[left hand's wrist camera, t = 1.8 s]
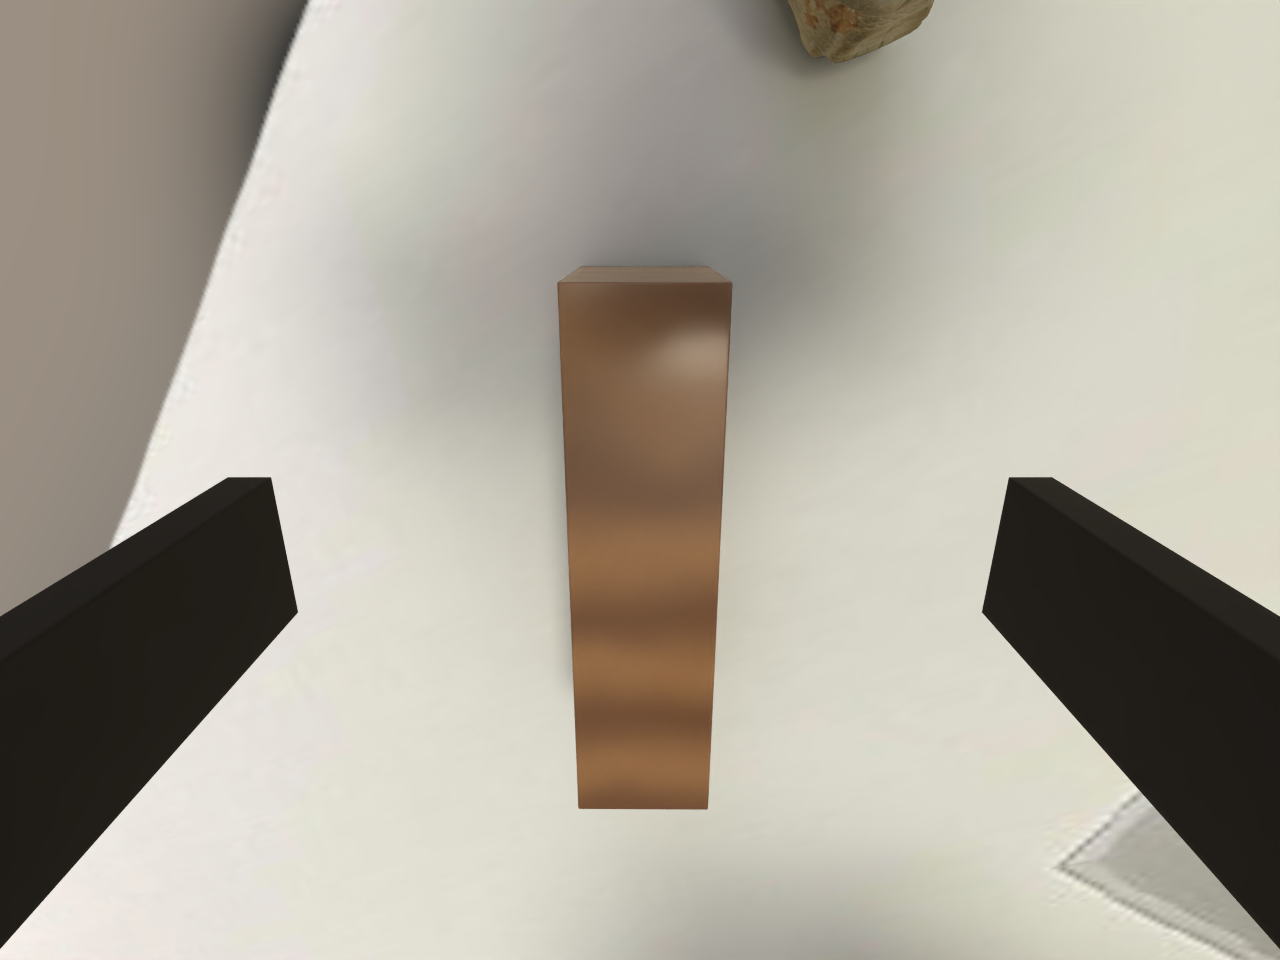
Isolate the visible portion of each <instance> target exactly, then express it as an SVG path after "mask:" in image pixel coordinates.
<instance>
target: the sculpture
mask: <svg viewBox="0 0 1280 960" xmlns="http://www.w3.org/2000/svg"><path fill="white" fill-rule="evenodd" d="M933 2H934V0H788V3H789V5H790V7H791V9H792V11H793V13H794V16H795V19H796V22H797V25H798V28H799V31H800V39H801V41H802V44H803V46H804V48H805V49H806V51H807V53H808V54H809V55H810V56H812V57H820V56H824V55H825V56H826V57H827V58H828V59H829V60H830V61H832V62H834V63H839V62H844V61H847V60H850V59H852V58H855V57H858V56H861V55H864V54H866V53H869V52H871V51H874V50H876V49H878V48H880V47H882V46H885V45H887V44H889V43H891V42H893V41H895V40H897V39H899V38H901V37H903V36H905V35H907V34H909V33H911V32H912V31H914V30H915V29H916V28H918V27H919V25H920V24H921V22H922V20H924V19H925V18H926V17H927V16H928V14H929V12H930V9H931V7H932V5H933Z"/></svg>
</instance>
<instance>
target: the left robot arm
mask: <svg viewBox="0 0 1280 960" xmlns="http://www.w3.org/2000/svg"><path fill="white" fill-rule="evenodd" d="M297 613H298V610H297V605H296V600H295V595H294V590H293V585H292V580H291V575H290V570H289V565H288V560H287V555H286V550H285V545H284V540H283V535H282V530H281V525H280V520H279V515H278V510H277V505H276V500H275V495H274V490H273V485H272V480H271V477H228V478H226V479H225V480H223V481H221V482H220V483H218V484H216V485H215V486H213V487H211V488H210V489H208V490H207V491H205V492H203V493H202V494H200V495H198V496H197V497H195V498H193V499H192V500H190V501H189V502H187V503H185V504H184V505H182V506H180V507H179V508H177V509H175V510H174V511H172V512H171V513H169V514H167V515H166V516H164V517H162V518H161V519H159V520H157V521H156V522H154V523H153V524H151V525H149V526H148V527H146V528H144V529H143V530H141V531H139V532H138V533H136V534H135V535H133V536H131V537H130V538H128V539H126V540H125V541H123V542H121V543H120V544H118V545H117V546H115V547H113V548H112V549H110V550H108V551H107V552H105V553H103V554H102V555H100V556H99V557H97V558H95V559H94V560H92V561H90V562H89V563H87V564H85V565H84V566H82V567H81V568H79V569H77V570H76V571H74V572H72V573H71V574H69V575H67V576H66V577H64V578H62V579H61V580H59V581H58V582H56V583H54V584H53V585H51V586H49V587H48V588H46V589H45V590H43V591H41V592H40V593H38V594H36V595H35V596H33V597H31V598H30V599H28V600H27V601H25V602H23V603H22V604H20V605H18V606H17V607H15V608H13V609H12V610H10V611H8V612H7V613H5V614H4V615H2V616H0V949H1V947H2V946H3V945H4V944H5V943H6V942H7V941H8V940H9V938H10V937H11V936H12V935H13V934H14V933H15V932H16V930H17V929H18V928H19V927H20V926H21V925H22V924H23V923H24V921H25V920H26V919H27V918H28V917H29V916H30V915H31V914H32V912H33V911H34V910H35V909H36V908H37V907H38V906H39V904H40V903H41V902H42V901H43V900H44V899H45V898H46V897H47V895H48V894H49V893H50V892H51V891H52V890H53V889H54V888H55V886H56V885H57V884H58V883H59V882H60V881H61V880H62V878H63V877H64V876H65V875H66V874H67V873H68V872H69V871H70V869H71V868H72V867H73V866H74V865H75V864H76V863H77V862H78V860H79V859H80V858H81V857H82V856H83V855H84V854H85V852H86V851H87V850H88V849H89V848H90V847H91V846H92V845H93V843H94V842H95V841H96V840H97V839H98V838H99V837H100V836H101V834H102V833H103V832H104V831H105V830H106V829H107V828H108V826H109V825H110V824H111V823H112V822H113V821H114V820H115V819H116V817H117V816H118V815H119V814H120V813H121V812H122V811H123V810H124V808H125V807H126V806H127V805H128V804H129V803H130V802H131V800H132V799H133V798H134V797H135V796H136V795H137V794H138V793H139V791H140V790H141V789H142V788H143V787H144V786H145V785H146V784H147V782H148V781H149V780H150V779H151V778H152V777H153V776H154V774H155V773H156V772H157V771H158V770H159V769H160V768H161V767H162V765H163V764H164V763H165V762H166V761H167V760H168V759H169V758H170V756H171V755H172V754H173V753H174V752H175V751H176V750H177V748H178V747H179V746H180V745H181V744H182V743H183V742H184V741H185V739H186V738H187V737H188V736H189V735H190V734H191V733H192V732H193V730H194V729H195V728H196V727H197V726H198V725H199V724H200V722H201V721H202V720H203V719H204V718H205V717H206V716H207V715H208V713H209V712H210V711H211V710H212V709H213V708H214V707H215V706H216V704H217V703H218V702H219V701H220V700H221V699H222V698H223V696H224V695H225V694H226V693H227V692H228V691H229V690H230V689H231V687H232V686H233V685H234V684H235V683H236V682H237V681H238V680H239V678H240V677H241V676H242V675H243V674H244V673H245V672H246V670H247V669H248V668H249V667H250V666H251V665H252V664H253V663H254V661H255V660H256V659H257V658H258V657H259V656H260V655H261V654H262V652H263V651H264V650H265V649H266V648H267V647H268V646H269V644H270V643H271V642H272V641H273V640H274V639H275V638H276V637H277V635H278V634H279V633H280V632H281V631H282V630H283V629H284V628H285V626H286V625H287V624H288V623H289V622H290V621H291V620H292V618H293V617H294V616H295V615H296V614H297ZM982 613H983V614H984V615H985V616H986V617H987V618H988V620H989V621H990V622H991V623H992V624H993V625H994V626H995V628H996V629H997V630H998V631H999V632H1000V633H1001V634H1002V635H1003V637H1004V638H1005V639H1006V640H1007V641H1008V642H1009V643H1010V644H1011V646H1012V647H1013V648H1014V649H1015V650H1016V651H1017V652H1018V654H1019V655H1020V656H1021V657H1022V658H1023V659H1024V660H1025V661H1026V663H1027V664H1028V665H1029V666H1030V667H1031V668H1032V669H1033V670H1034V672H1035V673H1036V674H1037V675H1038V676H1039V677H1040V678H1041V680H1042V681H1043V682H1044V683H1045V684H1046V685H1047V686H1048V687H1049V689H1050V690H1051V691H1052V692H1053V693H1054V694H1055V695H1056V696H1057V698H1058V699H1059V700H1060V701H1061V702H1062V703H1063V704H1064V706H1065V707H1066V708H1067V709H1068V710H1069V711H1070V712H1071V713H1072V715H1073V716H1074V717H1075V718H1076V719H1077V720H1078V721H1079V722H1080V724H1081V725H1082V726H1083V727H1084V728H1085V729H1086V730H1087V732H1088V733H1089V734H1090V735H1091V736H1092V737H1093V738H1094V739H1095V741H1096V742H1097V743H1098V744H1099V745H1100V746H1101V747H1102V748H1103V750H1104V751H1105V752H1106V753H1107V754H1108V755H1109V756H1110V758H1111V759H1112V760H1113V761H1114V762H1115V763H1116V764H1117V765H1118V767H1119V768H1120V769H1121V770H1122V771H1123V772H1124V773H1125V774H1126V776H1127V777H1128V778H1129V779H1130V780H1131V781H1132V782H1133V784H1134V785H1135V786H1136V787H1137V788H1138V789H1139V790H1140V791H1141V793H1142V794H1143V795H1144V796H1145V797H1146V798H1147V799H1148V800H1149V802H1150V803H1151V804H1152V805H1153V806H1154V807H1155V808H1156V810H1157V811H1158V812H1159V813H1160V814H1161V815H1162V816H1163V817H1164V819H1165V820H1166V821H1167V822H1168V823H1169V824H1170V825H1171V826H1172V828H1173V829H1174V830H1175V831H1176V832H1177V833H1178V834H1179V836H1180V837H1181V838H1182V839H1183V840H1184V841H1185V842H1186V843H1187V845H1188V846H1189V847H1190V848H1191V849H1192V850H1193V851H1194V852H1195V854H1196V855H1197V856H1198V857H1199V858H1200V859H1201V860H1202V862H1203V863H1204V864H1205V865H1206V866H1207V867H1208V868H1209V869H1210V871H1211V872H1212V873H1213V874H1214V875H1215V876H1216V877H1217V878H1218V880H1219V881H1220V882H1221V883H1222V884H1223V885H1224V886H1225V888H1226V889H1227V890H1228V891H1229V892H1230V893H1231V894H1232V895H1233V897H1234V898H1235V899H1236V900H1237V901H1238V902H1239V903H1240V904H1241V906H1242V907H1243V908H1244V909H1245V910H1246V911H1247V912H1248V914H1249V915H1250V916H1251V917H1252V918H1253V919H1254V920H1255V921H1256V923H1257V924H1258V925H1259V926H1260V927H1261V928H1262V929H1263V930H1264V932H1265V933H1266V934H1267V935H1268V936H1269V937H1270V938H1271V940H1272V941H1273V942H1274V943H1275V944H1276V945H1277V946H1278V947H1279V949H1280V616H1278V615H1276V614H1275V613H1273V612H1272V611H1270V610H1268V609H1267V608H1265V607H1263V606H1262V605H1260V604H1258V603H1257V602H1255V601H1254V600H1252V599H1250V598H1249V597H1247V596H1245V595H1244V594H1242V593H1240V592H1239V591H1237V590H1236V589H1234V588H1232V587H1231V586H1229V585H1227V584H1226V583H1224V582H1222V581H1221V580H1219V579H1218V578H1216V577H1214V576H1213V575H1211V574H1209V573H1208V572H1206V571H1204V570H1203V569H1201V568H1200V567H1198V566H1196V565H1195V564H1193V563H1191V562H1190V561H1188V560H1186V559H1185V558H1183V557H1182V556H1180V555H1178V554H1177V553H1175V552H1173V551H1172V550H1170V549H1168V548H1167V547H1165V546H1163V545H1162V544H1160V543H1159V542H1157V541H1155V540H1154V539H1152V538H1150V537H1149V536H1147V535H1145V534H1144V533H1142V532H1141V531H1139V530H1137V529H1136V528H1134V527H1132V526H1131V525H1129V524H1127V523H1126V522H1124V521H1123V520H1121V519H1119V518H1118V517H1116V516H1114V515H1113V514H1111V513H1109V512H1108V511H1106V510H1105V509H1103V508H1101V507H1100V506H1098V505H1096V504H1095V503H1093V502H1091V501H1090V500H1088V499H1087V498H1085V497H1083V496H1082V495H1080V494H1078V493H1077V492H1075V491H1073V490H1072V489H1070V488H1069V487H1067V486H1065V485H1064V484H1062V483H1060V482H1059V481H1057V480H1055V479H1054V478H1052V477H1009V480H1008V485H1007V490H1006V495H1005V500H1004V505H1003V510H1002V515H1001V520H1000V525H999V530H998V535H997V540H996V545H995V550H994V555H993V560H992V565H991V570H990V575H989V580H988V585H987V590H986V595H985V600H984V605H983V610H982Z"/></svg>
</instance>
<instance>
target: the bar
mask: <svg viewBox="0 0 1280 960" xmlns="http://www.w3.org/2000/svg"><path fill="white" fill-rule="evenodd" d="M731 301H732V282H730V281H729V280H727V279H726V278H724V277H723V276H721V275H720V274H718V273H717V272H715V271H714V270H712V269H711V268H709V267H672V266H581V267H580V268H578V269H577V270H575V271H574V272H572V273H571V274H570V275H568V276H567V277H565V278H564V279H562V280H561V281H559V282H558V308H559V334H560V359H561V384H562V409H563V434H564V459H565V484H566V509H567V534H568V559H569V584H570V609H571V634H572V659H573V684H574V709H575V734H576V759H577V784H578V807H579V809H708V795H709V774H710V752H711V731H712V709H713V688H714V666H715V645H716V624H717V602H718V581H719V559H720V538H721V516H722V495H723V473H724V452H725V430H726V409H727V387H728V366H729V344H730V323H731Z"/></svg>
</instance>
